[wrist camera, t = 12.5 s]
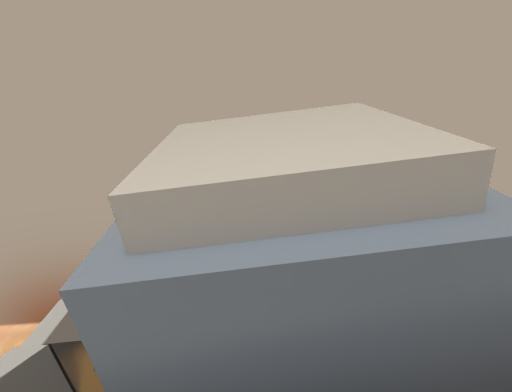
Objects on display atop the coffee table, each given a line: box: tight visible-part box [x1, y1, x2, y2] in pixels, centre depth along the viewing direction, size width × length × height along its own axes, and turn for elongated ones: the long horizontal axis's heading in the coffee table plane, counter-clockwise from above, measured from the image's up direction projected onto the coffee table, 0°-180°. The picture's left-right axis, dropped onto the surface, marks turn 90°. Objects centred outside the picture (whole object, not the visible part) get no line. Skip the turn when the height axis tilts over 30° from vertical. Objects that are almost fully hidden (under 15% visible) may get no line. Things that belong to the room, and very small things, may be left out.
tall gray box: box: [59, 103, 512, 392], centre depth 8 cm, size 6×6×12 cm
